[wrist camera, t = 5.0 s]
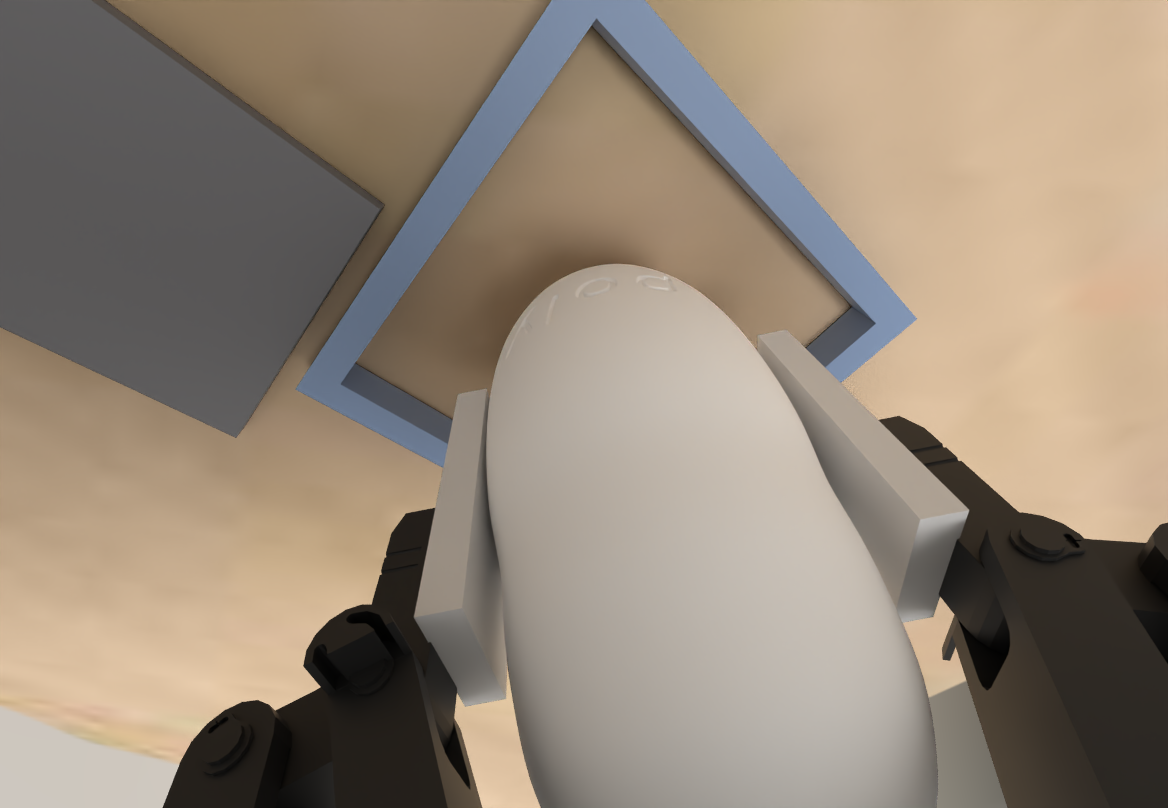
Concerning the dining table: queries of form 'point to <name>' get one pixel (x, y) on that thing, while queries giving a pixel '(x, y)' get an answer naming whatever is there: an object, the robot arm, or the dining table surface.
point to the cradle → (575, 6)
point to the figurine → (685, 571)
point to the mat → (157, 214)
